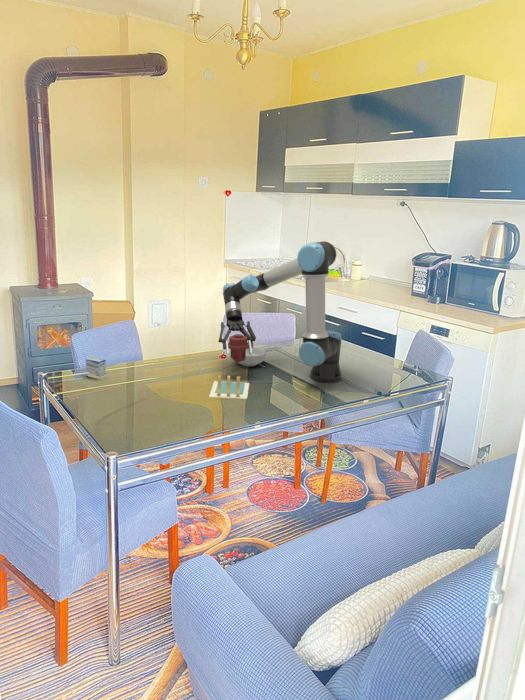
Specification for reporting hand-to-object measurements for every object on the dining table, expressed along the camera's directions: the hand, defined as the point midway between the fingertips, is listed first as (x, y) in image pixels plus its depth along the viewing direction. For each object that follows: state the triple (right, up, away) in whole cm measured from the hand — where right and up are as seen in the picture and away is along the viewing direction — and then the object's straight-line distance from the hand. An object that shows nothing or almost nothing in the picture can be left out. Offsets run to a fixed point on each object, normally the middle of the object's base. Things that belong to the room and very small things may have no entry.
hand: (239, 354), depth 234 cm
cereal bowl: (+3, -5, +28) cm, 28 cm away
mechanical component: (-1, -3, +4) cm, 5 cm away
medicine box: (-65, -11, 0) cm, 66 cm away
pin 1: (-8, -17, -17) cm, 26 cm away
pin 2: (-4, -17, -17) cm, 25 cm away
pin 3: (0, -18, -17) cm, 25 cm away
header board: (-4, -16, -10) cm, 19 cm away
